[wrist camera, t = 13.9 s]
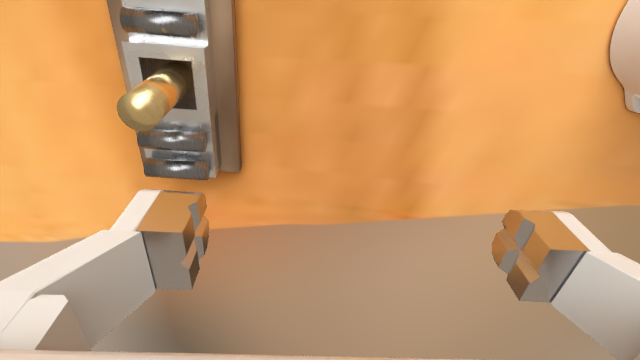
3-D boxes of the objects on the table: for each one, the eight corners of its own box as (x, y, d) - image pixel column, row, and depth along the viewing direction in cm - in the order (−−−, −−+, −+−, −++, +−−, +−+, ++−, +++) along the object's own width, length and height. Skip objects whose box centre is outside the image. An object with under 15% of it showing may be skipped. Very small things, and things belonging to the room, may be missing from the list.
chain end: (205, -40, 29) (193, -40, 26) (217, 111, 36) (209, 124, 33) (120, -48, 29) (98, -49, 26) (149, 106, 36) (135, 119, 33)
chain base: (232, -51, 30) (228, -51, 29) (241, 166, 42) (239, 172, 40) (101, -64, 29) (92, -65, 28) (148, 160, 41) (143, 166, 40)
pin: (193, 61, 34) (155, 94, 25) (196, 91, 35) (161, 132, 27) (162, 58, 33) (112, 91, 25) (166, 89, 35) (121, 129, 26)
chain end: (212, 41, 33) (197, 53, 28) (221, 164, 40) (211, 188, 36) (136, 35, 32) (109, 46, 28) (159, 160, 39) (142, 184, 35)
